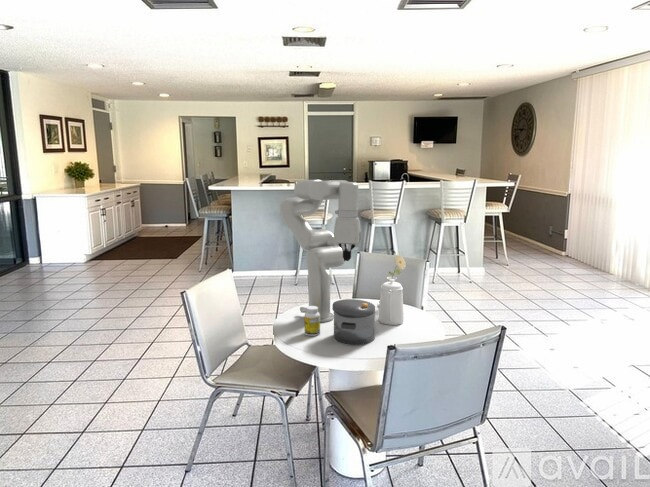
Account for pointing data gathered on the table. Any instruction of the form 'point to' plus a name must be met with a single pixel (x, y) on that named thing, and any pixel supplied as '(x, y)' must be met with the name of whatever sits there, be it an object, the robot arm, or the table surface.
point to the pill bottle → (312, 321)
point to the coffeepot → (391, 303)
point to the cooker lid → (353, 308)
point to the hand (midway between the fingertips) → (346, 260)
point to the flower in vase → (400, 264)
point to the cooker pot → (354, 329)
